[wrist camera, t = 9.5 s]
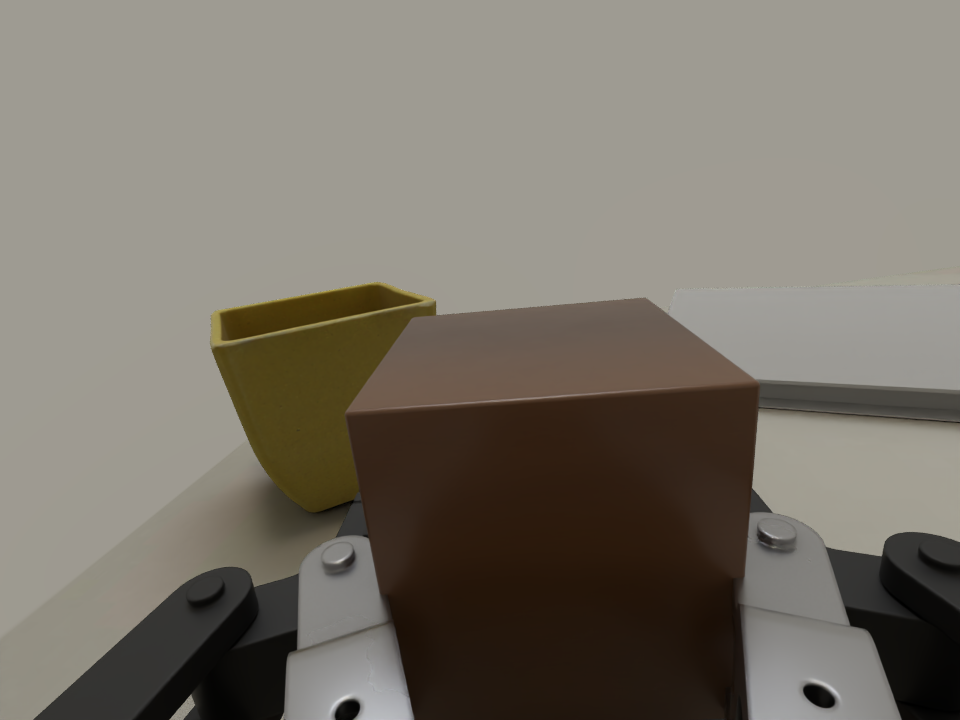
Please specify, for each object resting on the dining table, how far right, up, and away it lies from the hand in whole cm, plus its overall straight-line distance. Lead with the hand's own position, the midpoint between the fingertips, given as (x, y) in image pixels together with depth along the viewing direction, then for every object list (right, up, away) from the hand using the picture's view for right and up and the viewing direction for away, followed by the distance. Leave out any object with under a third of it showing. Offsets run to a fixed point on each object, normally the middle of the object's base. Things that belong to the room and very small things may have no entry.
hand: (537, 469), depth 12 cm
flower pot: (-8, -4, +14) cm, 16 cm away
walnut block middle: (0, -7, -1) cm, 7 cm away
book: (+22, +2, +21) cm, 30 cm away
